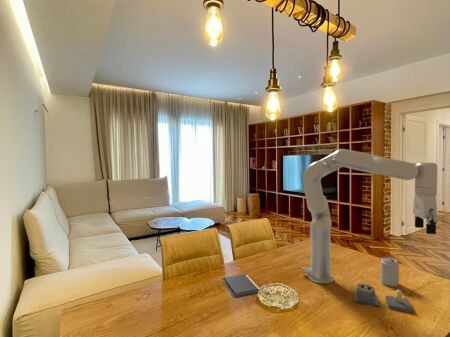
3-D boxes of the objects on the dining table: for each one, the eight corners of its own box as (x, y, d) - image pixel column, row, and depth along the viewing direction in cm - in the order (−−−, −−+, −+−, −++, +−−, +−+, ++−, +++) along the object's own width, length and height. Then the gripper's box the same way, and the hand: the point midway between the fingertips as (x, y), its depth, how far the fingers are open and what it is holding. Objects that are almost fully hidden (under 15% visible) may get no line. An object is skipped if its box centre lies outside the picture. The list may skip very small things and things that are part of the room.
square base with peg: (389, 308, 102) (389, 292, 102) (385, 298, 110) (385, 283, 109) (413, 313, 99) (413, 297, 99) (407, 302, 106) (408, 287, 106)
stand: (354, 302, 107) (354, 288, 107) (353, 292, 115) (353, 279, 115) (379, 307, 103) (379, 292, 103) (376, 296, 111) (376, 282, 111)
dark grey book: (220, 275, 130) (247, 271, 134) (220, 279, 130) (247, 275, 134) (232, 295, 111) (264, 290, 115) (232, 300, 111) (264, 294, 115)
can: (401, 288, 118) (402, 262, 118) (384, 286, 120) (384, 261, 119) (394, 280, 126) (394, 256, 125) (377, 279, 127) (378, 255, 127)
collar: (357, 299, 107) (357, 289, 107) (356, 292, 113) (356, 282, 113) (375, 303, 105) (375, 292, 105) (373, 295, 111) (373, 285, 111)
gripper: (406, 188, 118) (405, 225, 119) (426, 193, 101) (425, 235, 102) (425, 189, 116) (424, 225, 117) (448, 194, 99) (447, 237, 100)
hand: (424, 230), depth 109 cm, fingers open, 9 cm apart
